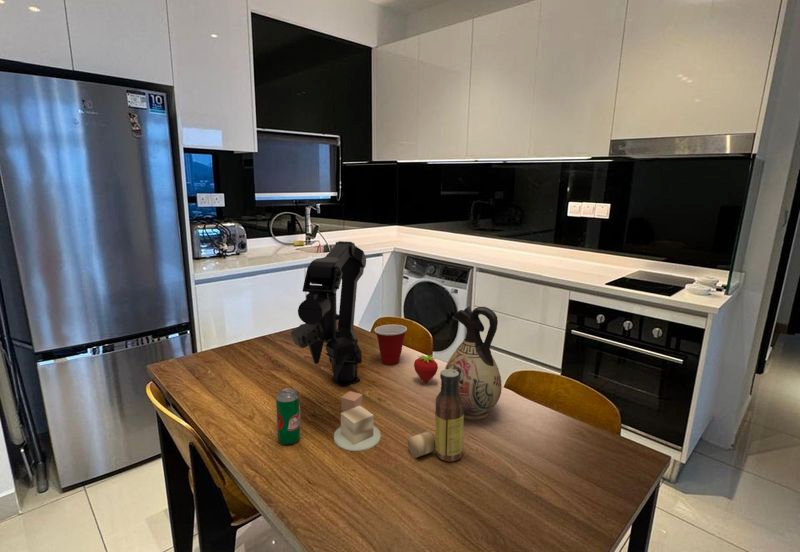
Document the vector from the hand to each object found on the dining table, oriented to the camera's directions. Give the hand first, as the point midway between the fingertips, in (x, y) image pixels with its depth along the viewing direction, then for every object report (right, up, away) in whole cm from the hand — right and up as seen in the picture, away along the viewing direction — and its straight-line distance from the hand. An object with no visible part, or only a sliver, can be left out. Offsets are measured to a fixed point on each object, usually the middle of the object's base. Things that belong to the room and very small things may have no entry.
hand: (325, 369), depth 109 cm
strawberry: (+27, -9, +20) cm, 34 cm away
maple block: (+9, -14, -8) cm, 18 cm away
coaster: (+9, -14, -8) cm, 18 cm away
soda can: (-7, -14, -9) cm, 19 cm away
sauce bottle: (+30, -16, -13) cm, 36 cm away
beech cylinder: (+22, -14, -14) cm, 30 cm away
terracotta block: (+6, -12, +4) cm, 14 cm away
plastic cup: (+16, -5, +34) cm, 38 cm away
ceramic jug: (+38, -13, +4) cm, 40 cm away
